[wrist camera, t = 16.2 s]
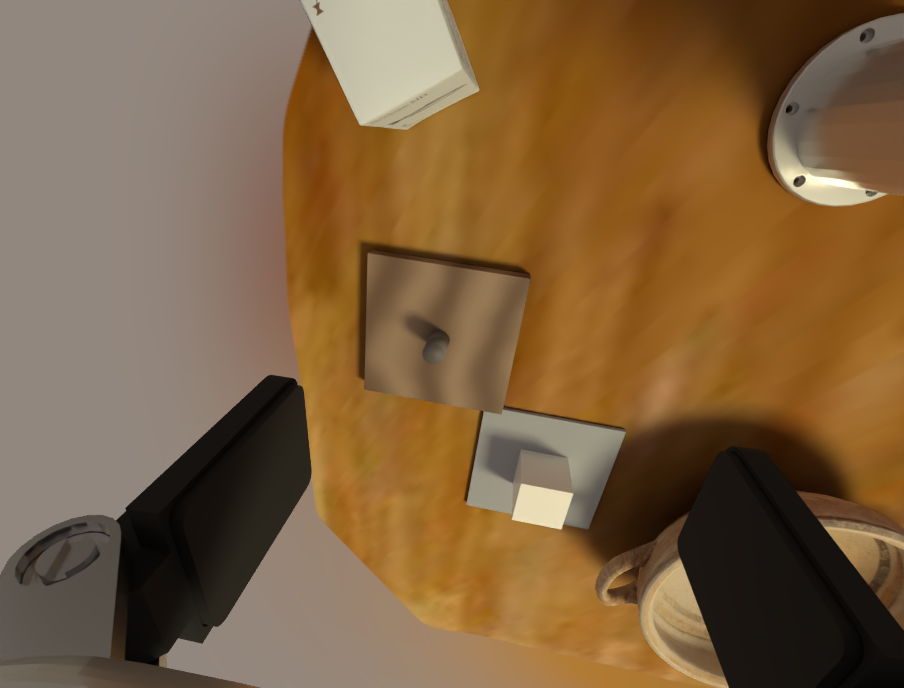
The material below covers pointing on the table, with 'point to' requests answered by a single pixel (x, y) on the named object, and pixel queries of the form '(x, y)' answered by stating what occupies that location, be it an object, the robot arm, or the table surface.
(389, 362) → the tan square base plate
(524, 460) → the cream cube
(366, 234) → the table surface
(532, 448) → the gray square plate
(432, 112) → the supplement box
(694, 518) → the robot arm
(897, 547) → the ceramic bowl
